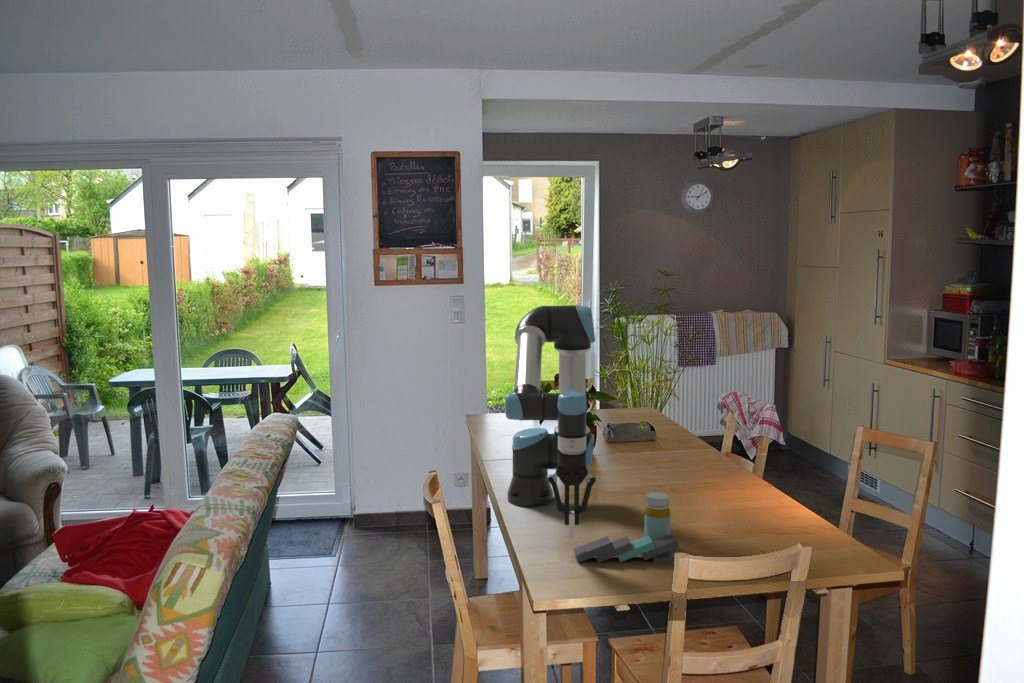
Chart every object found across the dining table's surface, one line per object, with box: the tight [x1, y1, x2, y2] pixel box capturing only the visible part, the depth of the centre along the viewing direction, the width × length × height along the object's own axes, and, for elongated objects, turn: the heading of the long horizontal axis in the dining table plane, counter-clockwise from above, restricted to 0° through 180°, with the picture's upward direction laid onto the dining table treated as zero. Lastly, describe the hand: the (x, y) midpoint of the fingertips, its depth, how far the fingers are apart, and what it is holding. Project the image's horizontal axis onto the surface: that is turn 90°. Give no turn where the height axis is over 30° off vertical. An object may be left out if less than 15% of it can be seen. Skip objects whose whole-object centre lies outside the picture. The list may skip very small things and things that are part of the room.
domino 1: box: [573, 535, 613, 564], centre depth 206 cm, size 2×5×10 cm
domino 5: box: [651, 550, 691, 565], centre depth 206 cm, size 2×5×10 cm
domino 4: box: [640, 533, 680, 561], centre depth 207 cm, size 2×5×10 cm
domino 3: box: [616, 535, 655, 563], centre depth 206 cm, size 2×5×10 cm
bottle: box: [643, 491, 671, 541], centre depth 213 cm, size 7×7×15 cm
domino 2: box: [595, 535, 633, 563], centre depth 206 cm, size 2×5×10 cm
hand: (571, 535), depth 206 cm, fingers closed
